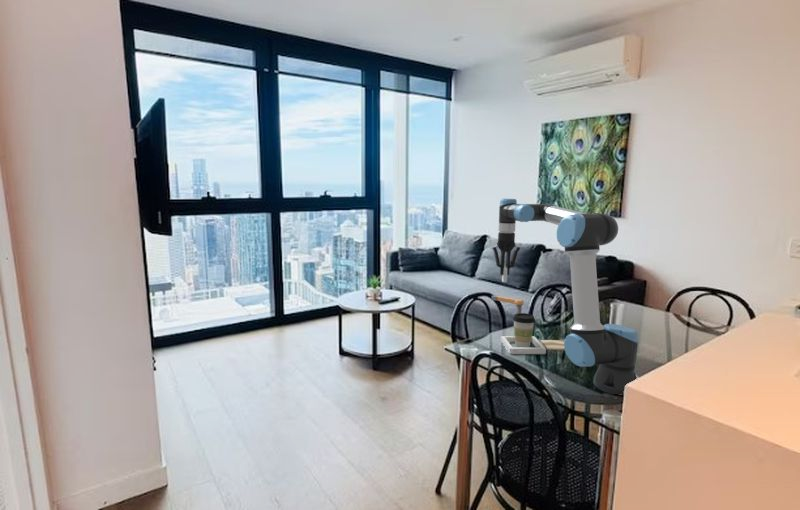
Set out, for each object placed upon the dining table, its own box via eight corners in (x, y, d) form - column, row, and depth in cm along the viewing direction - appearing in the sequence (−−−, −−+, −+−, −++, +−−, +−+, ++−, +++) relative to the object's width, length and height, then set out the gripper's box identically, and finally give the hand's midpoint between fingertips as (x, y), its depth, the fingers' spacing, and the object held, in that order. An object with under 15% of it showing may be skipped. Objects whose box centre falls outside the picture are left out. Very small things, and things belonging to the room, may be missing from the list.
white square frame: (545, 354, 199) (548, 315, 196) (509, 354, 198) (511, 315, 195) (532, 339, 217) (534, 304, 214) (499, 339, 216) (501, 304, 214)
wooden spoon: (490, 300, 219) (491, 296, 218) (494, 298, 222) (494, 294, 221) (521, 305, 209) (521, 302, 209) (524, 304, 212) (525, 300, 212)
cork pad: (575, 350, 203) (575, 349, 203) (549, 350, 203) (549, 349, 203) (565, 341, 215) (565, 340, 215) (540, 341, 214) (540, 340, 214)
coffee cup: (518, 352, 200) (520, 319, 198) (507, 344, 210) (509, 313, 207) (537, 350, 203) (539, 318, 200) (526, 342, 212) (527, 312, 210)
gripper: (518, 231, 213) (515, 280, 216) (490, 231, 212) (488, 279, 216) (523, 233, 205) (520, 283, 209) (494, 232, 205) (492, 283, 209)
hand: (504, 281), depth 213 cm, fingers closed
